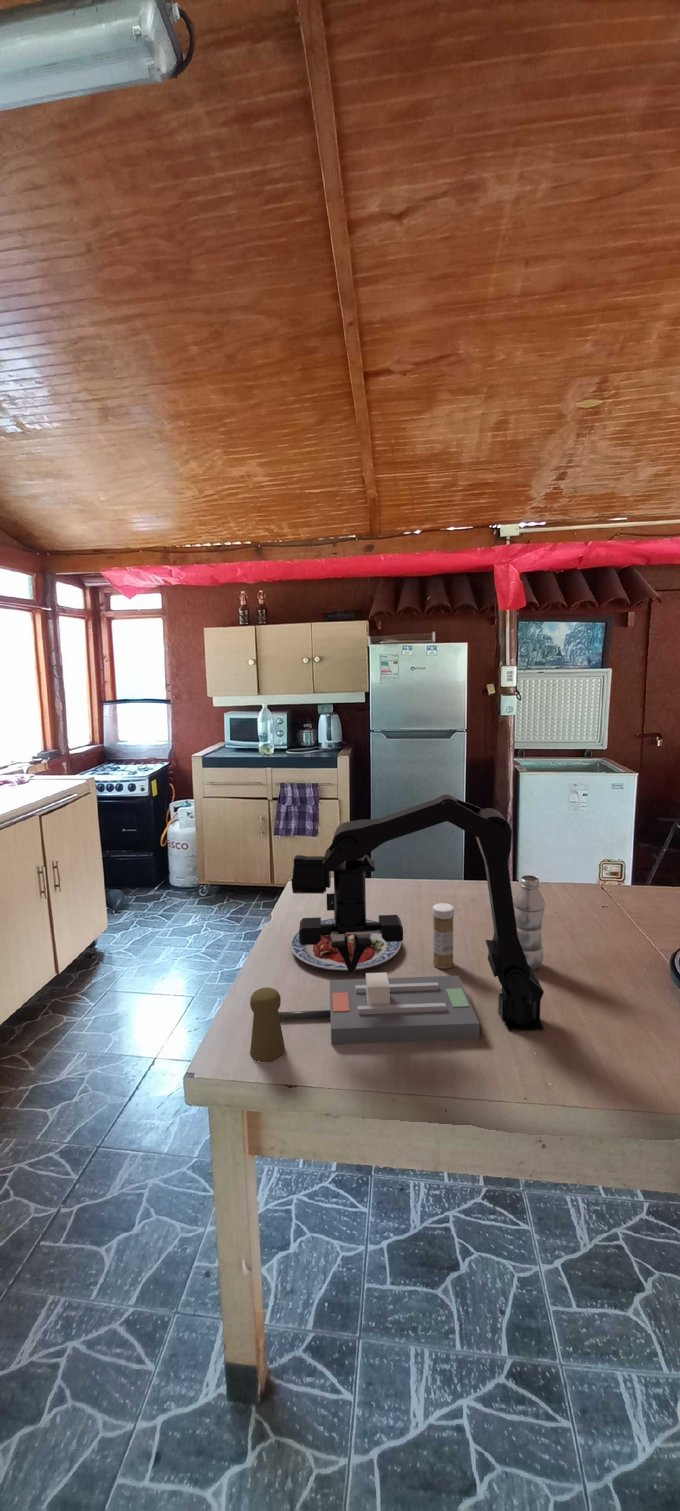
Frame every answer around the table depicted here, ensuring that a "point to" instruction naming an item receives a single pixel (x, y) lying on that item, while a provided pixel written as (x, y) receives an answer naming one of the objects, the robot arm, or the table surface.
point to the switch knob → (377, 989)
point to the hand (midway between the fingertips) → (351, 972)
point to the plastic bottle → (530, 919)
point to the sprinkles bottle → (443, 935)
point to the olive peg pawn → (266, 1026)
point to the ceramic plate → (332, 958)
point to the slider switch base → (397, 1012)
